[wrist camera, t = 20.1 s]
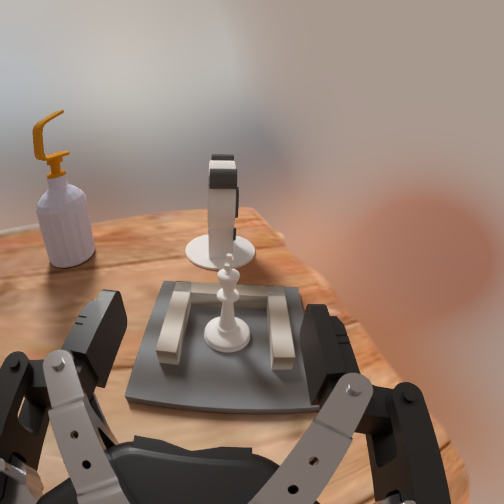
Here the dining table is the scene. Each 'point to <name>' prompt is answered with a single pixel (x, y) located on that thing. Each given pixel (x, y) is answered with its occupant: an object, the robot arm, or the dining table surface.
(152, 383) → the u rest
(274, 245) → the dining table surface
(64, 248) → the soap bottle
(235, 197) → the panda figurine
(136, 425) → the dining table surface
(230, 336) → the chess piece
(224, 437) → the dining table surface
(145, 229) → the dining table surface
